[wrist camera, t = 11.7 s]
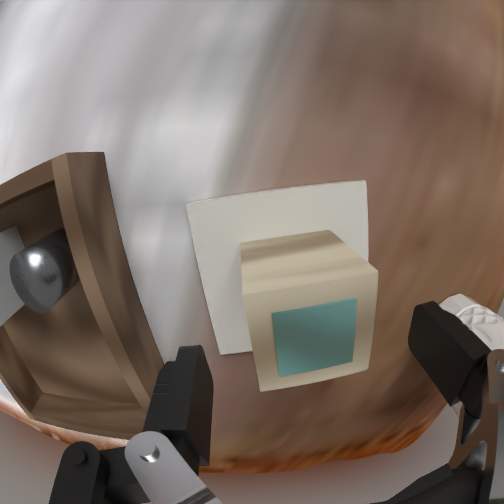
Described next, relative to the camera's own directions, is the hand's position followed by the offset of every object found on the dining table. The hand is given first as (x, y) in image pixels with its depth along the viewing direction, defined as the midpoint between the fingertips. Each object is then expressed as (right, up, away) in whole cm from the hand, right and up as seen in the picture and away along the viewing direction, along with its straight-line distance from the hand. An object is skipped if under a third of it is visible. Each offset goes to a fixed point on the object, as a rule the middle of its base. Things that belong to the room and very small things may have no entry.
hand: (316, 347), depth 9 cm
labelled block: (0, +2, +7) cm, 7 cm away
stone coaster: (0, +2, +7) cm, 8 cm away
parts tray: (-18, -1, +8) cm, 19 cm away
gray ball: (-14, +3, +5) cm, 15 cm away
